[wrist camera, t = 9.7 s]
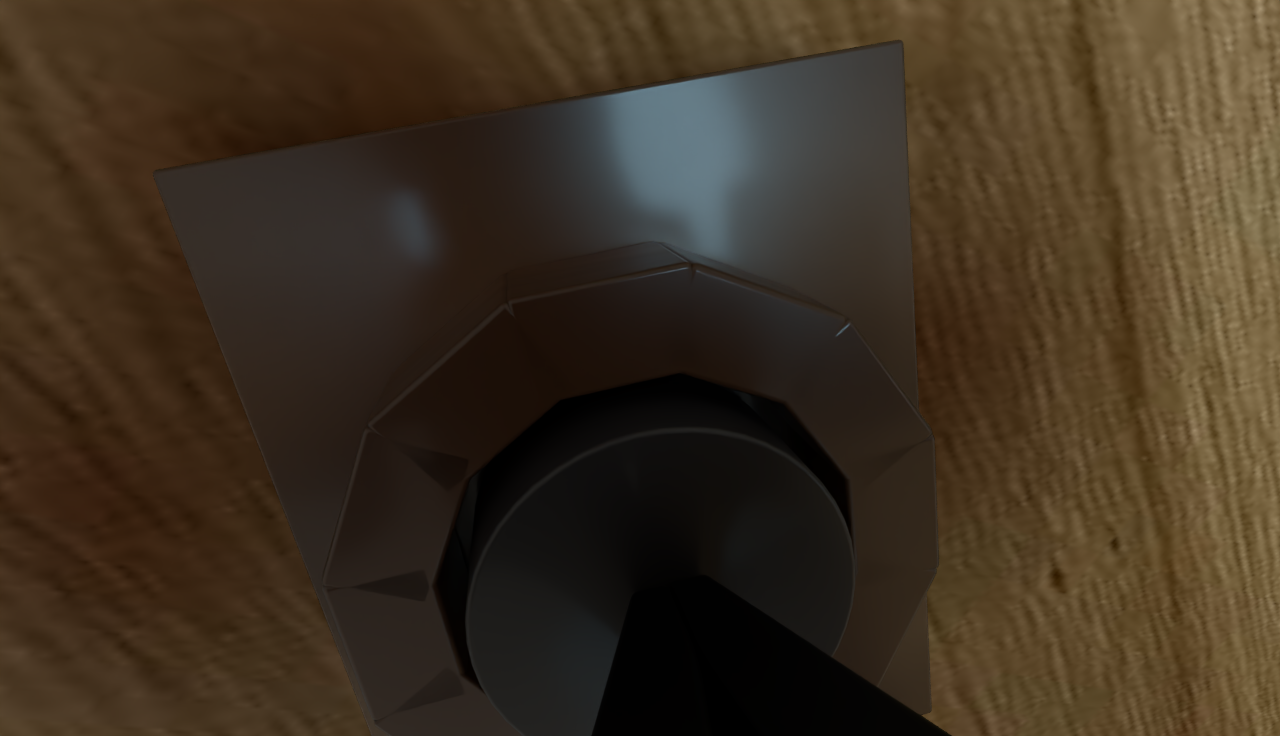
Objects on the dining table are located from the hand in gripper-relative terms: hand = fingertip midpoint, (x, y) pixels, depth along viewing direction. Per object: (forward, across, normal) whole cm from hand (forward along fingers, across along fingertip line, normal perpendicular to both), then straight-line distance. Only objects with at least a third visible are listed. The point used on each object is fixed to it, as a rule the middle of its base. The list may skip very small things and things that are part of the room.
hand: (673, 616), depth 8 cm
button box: (+5, 0, 0) cm, 5 cm away
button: (+2, 0, 0) cm, 2 cm away
